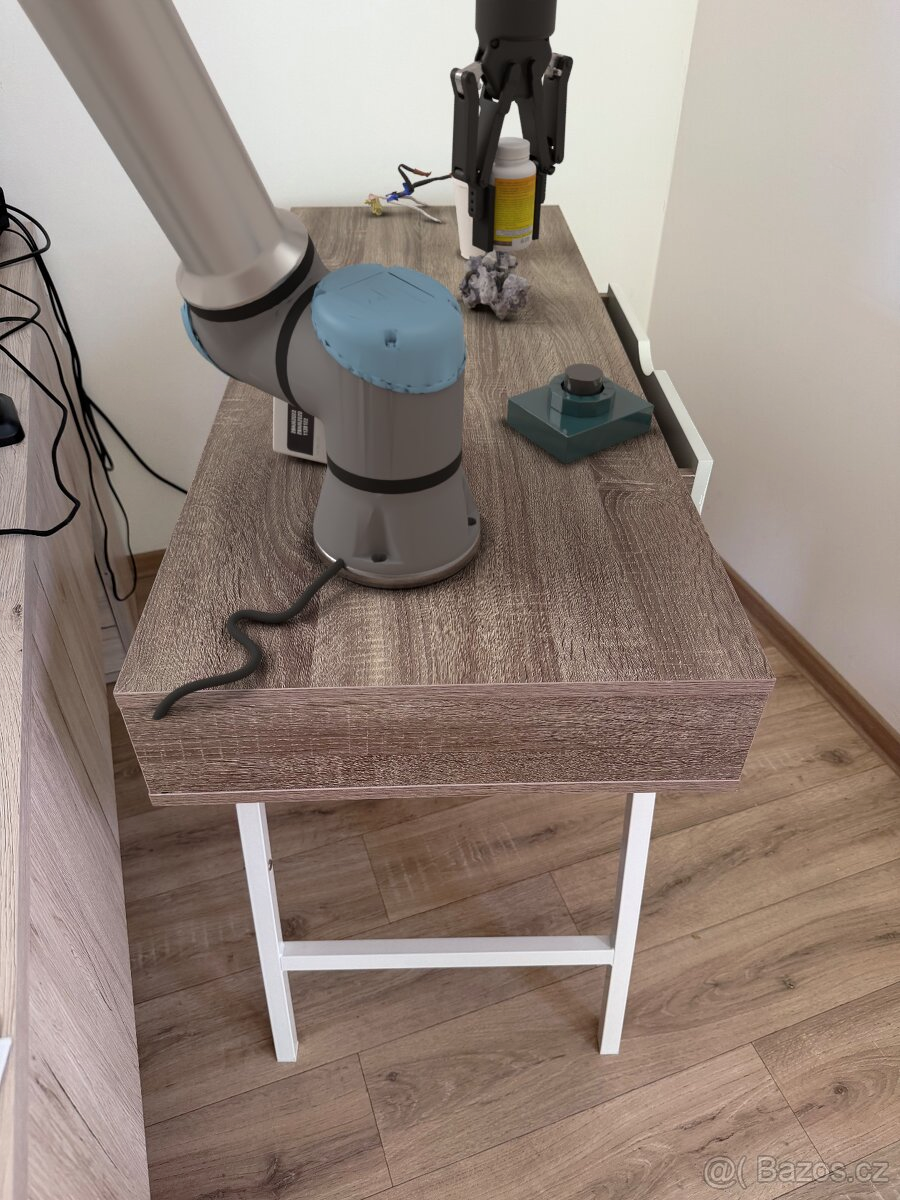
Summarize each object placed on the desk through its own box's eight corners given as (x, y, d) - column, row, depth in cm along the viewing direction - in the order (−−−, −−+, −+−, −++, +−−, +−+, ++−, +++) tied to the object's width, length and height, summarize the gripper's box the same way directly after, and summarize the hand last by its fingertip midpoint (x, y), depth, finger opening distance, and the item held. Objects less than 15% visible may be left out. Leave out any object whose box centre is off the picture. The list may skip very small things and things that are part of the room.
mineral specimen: (537, 303, 116) (512, 224, 114) (468, 329, 118) (442, 251, 116) (537, 311, 128) (514, 240, 126) (474, 335, 129) (451, 265, 128)
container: (343, 468, 93) (351, 345, 85) (271, 452, 94) (272, 329, 86) (366, 437, 99) (375, 320, 92) (298, 422, 100) (301, 304, 92)
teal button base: (565, 464, 94) (569, 421, 91) (506, 423, 101) (508, 382, 97) (649, 431, 100) (657, 389, 96) (589, 394, 106) (593, 354, 103)
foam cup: (440, 248, 141) (441, 157, 133) (494, 239, 144) (497, 150, 136) (467, 269, 135) (469, 175, 126) (523, 259, 138) (528, 167, 129)
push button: (580, 402, 95) (582, 384, 94) (555, 387, 98) (557, 369, 96) (608, 392, 97) (611, 374, 95) (584, 377, 99) (585, 359, 98)
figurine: (368, 247, 160) (479, 213, 157) (361, 247, 152) (477, 211, 149) (350, 185, 157) (463, 149, 154) (342, 181, 148) (461, 144, 146)
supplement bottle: (542, 245, 99) (549, 142, 92) (505, 257, 96) (509, 153, 89) (506, 231, 102) (511, 131, 95) (469, 243, 99) (471, 140, 93)
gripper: (460, 0, 77) (457, 272, 93) (619, -18, 86) (592, 234, 101) (409, -11, 82) (415, 250, 97) (565, -27, 90) (548, 215, 106)
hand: (505, 241), depth 99 cm, fingers closed on supplement bottle, 6 cm apart
